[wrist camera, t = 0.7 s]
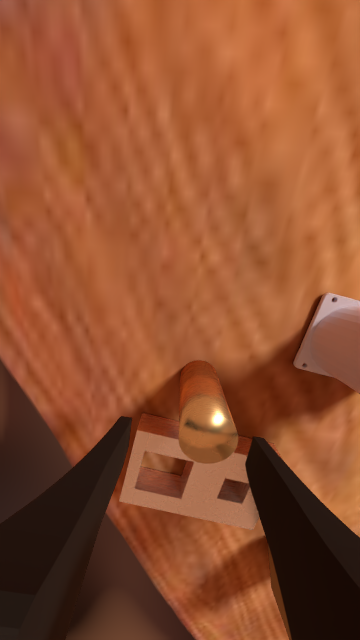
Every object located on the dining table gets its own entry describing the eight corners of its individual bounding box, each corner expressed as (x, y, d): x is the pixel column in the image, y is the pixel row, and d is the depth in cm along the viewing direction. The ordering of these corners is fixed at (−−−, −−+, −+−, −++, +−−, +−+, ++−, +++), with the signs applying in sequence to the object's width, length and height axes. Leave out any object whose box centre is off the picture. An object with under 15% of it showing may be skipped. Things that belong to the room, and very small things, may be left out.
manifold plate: (273, 443, 22) (285, 464, 20) (245, 504, 24) (252, 529, 22) (142, 412, 21) (137, 430, 19) (125, 478, 24) (119, 501, 21)
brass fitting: (221, 365, 20) (246, 422, 12) (210, 397, 21) (227, 469, 13) (185, 356, 20) (187, 408, 12) (176, 388, 21) (172, 456, 13)
